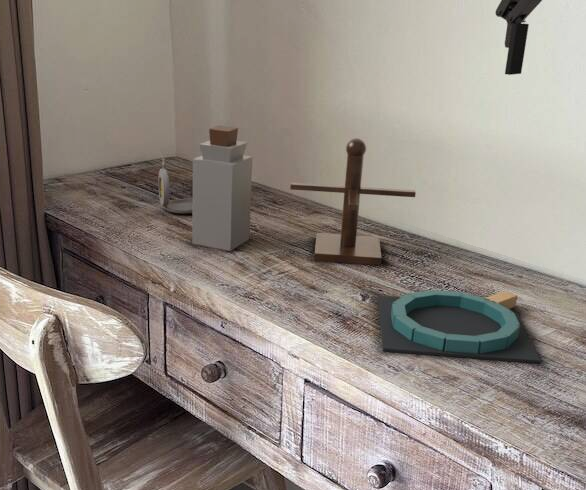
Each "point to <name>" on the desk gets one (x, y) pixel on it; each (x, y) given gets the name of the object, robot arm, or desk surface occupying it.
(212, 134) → the perfume bottle
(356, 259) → the stand
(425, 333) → the ring
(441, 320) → the mat
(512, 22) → the robot arm
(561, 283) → the desk surface
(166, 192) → the pocket watch
